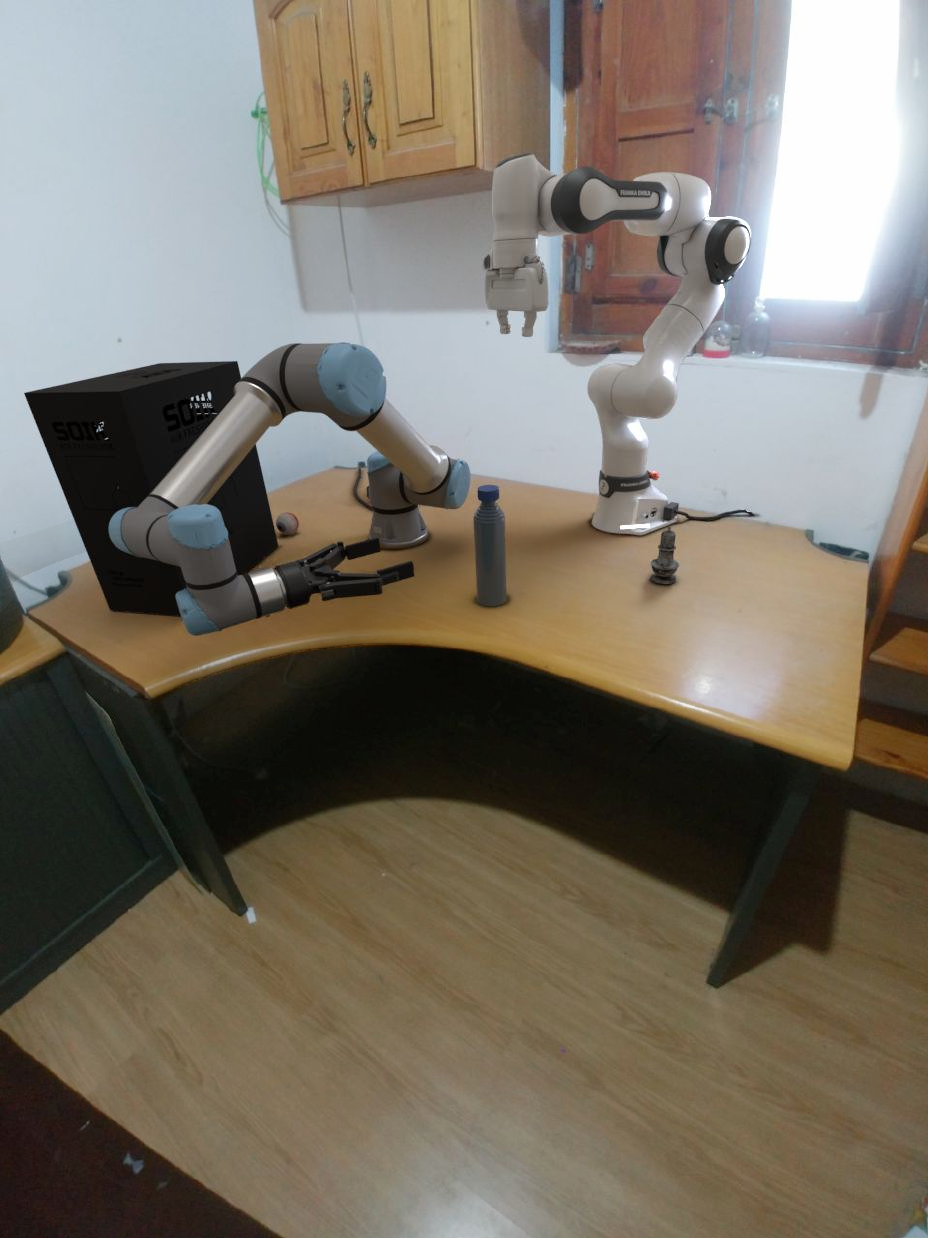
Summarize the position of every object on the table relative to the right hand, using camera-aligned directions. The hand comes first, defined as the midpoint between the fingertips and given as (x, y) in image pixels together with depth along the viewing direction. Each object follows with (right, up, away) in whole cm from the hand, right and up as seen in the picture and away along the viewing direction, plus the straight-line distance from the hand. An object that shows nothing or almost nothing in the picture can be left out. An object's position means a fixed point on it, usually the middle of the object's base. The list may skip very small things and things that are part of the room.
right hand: (516, 335), depth 125 cm
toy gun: (-30, -19, +66) cm, 75 cm away
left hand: (-23, -48, -16) cm, 55 cm away
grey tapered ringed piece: (+32, -50, +6) cm, 60 cm away
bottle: (-5, -55, +2) cm, 55 cm away
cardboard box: (-74, -49, +19) cm, 90 cm away
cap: (-6, -34, -10) cm, 36 cm away
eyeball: (-59, -36, +40) cm, 80 cm away
